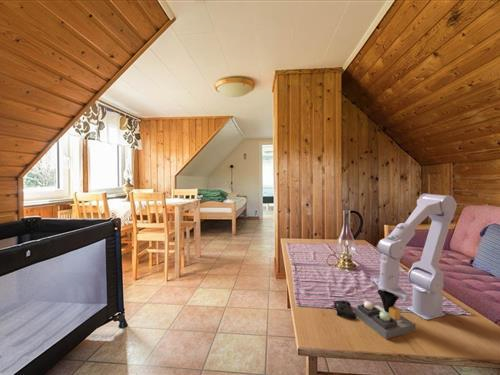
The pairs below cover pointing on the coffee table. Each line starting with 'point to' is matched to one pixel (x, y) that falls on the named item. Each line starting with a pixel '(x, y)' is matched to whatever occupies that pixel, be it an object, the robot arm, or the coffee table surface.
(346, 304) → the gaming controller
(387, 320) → the green button
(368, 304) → the white button
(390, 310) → the slider knob
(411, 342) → the coffee table surface
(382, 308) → the control panel
